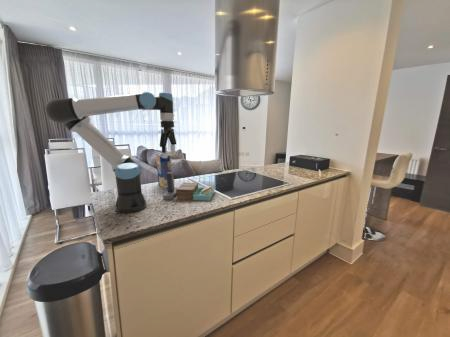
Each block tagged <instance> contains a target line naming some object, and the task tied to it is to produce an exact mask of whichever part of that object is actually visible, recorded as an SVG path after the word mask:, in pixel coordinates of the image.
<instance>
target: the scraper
mask: <svg viewBox="0 0 450 337" xmlns="http://www.w3.org/2000/svg"><path fill="white" fill-rule="evenodd" d="M174 183H175V182H174V172H168V173H167V185H168V187H167V191H166V192H165V193H164V194H163V195H162V199H163V200H170V201H171V200H174V199H175V198H177V196H176V189H177V188H178V187H175V184H174Z"/></svg>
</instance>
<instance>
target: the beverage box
mask: <svg viewBox="0 0 450 337" xmlns="http://www.w3.org/2000/svg"><path fill="white" fill-rule="evenodd" d="M171 156H172V155H170V154H169V155H168V154H167V158H162V154H156V156H155V157H156V168H157V170H156V171H157V181H158V185H159V186H160V187H161V188H163V189H165V188H168V185H167V173H168V172H172V159H171Z"/></svg>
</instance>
